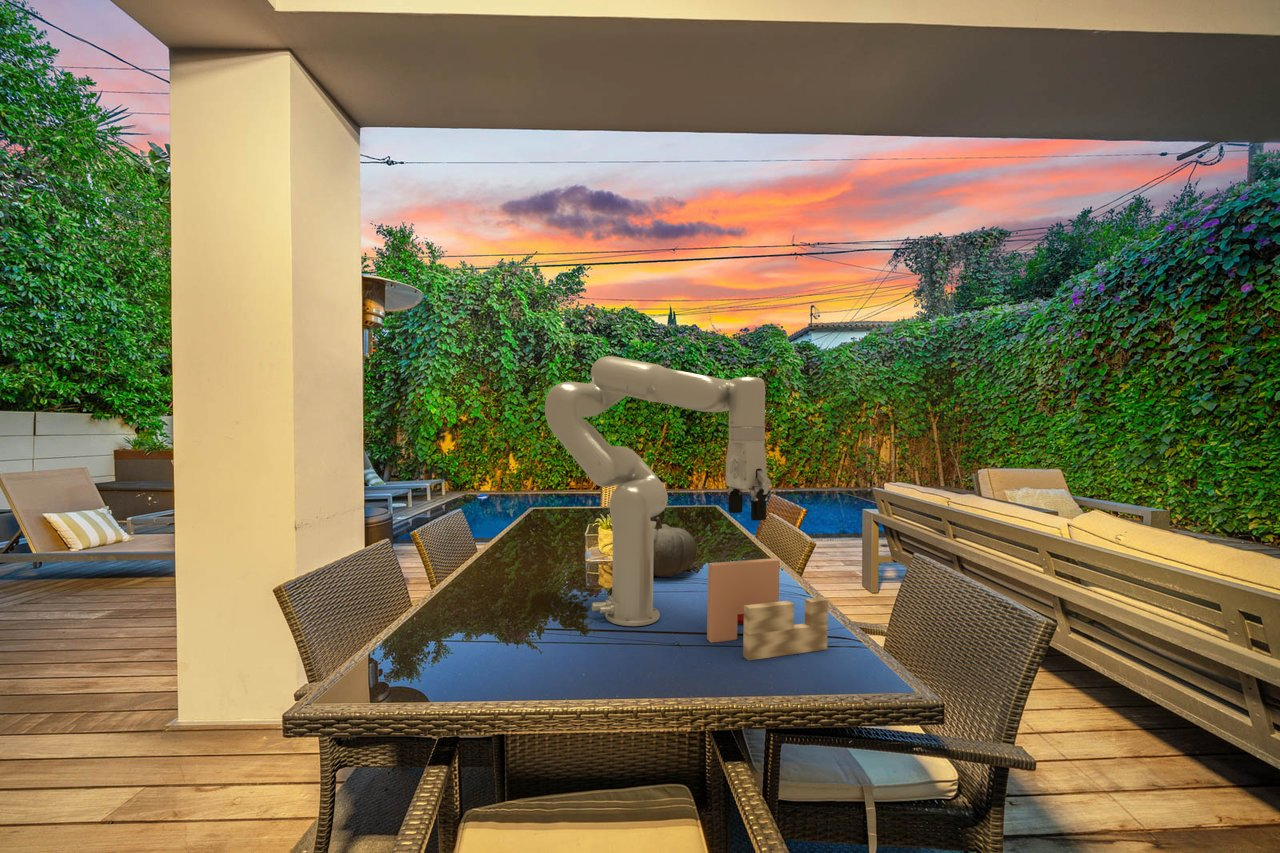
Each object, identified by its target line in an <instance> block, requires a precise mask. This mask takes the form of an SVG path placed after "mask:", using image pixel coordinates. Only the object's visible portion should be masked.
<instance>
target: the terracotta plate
mask: <svg viewBox="0 0 1280 853" xmlns="http://www.w3.org/2000/svg"><path fill="white" fill-rule="evenodd" d="M771 602H780V559H777V558H774V557H773V558H772V557H771V558H759V559H746V560H736V561H735V560H733V561H721V562H711V563H707V613H706V614H707V615H706V616H707V617H706V618H707V619H706V620H707V622H706V624H707V626H706V628H707V629H706V639H707V640H708V642H710V643H720V642H727V641H728V642H729V641H736V640H738V624H737V615H738V614H744V605H752V604H762V603H771Z"/></svg>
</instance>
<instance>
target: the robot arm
mask: <svg viewBox="0 0 1280 853" xmlns="http://www.w3.org/2000/svg"><path fill="white" fill-rule="evenodd" d="M591 366H592V367H591V369H590V377H591V381H590V382H588V383H585V382H578V381H562V382H560V383H557V384H554V386H552V388H551V389H550V390H549V391H548V393H547V396H546V398H545V401H544V402H545V403H544V416H545V419H546V422H547V426H548V427H549V429H550V431H551V432H552V433H553V435H554V436H555V437H556V439H557V440H558V441H559V443H561V444H562V446H563V447H564V448H565V449H566V450H567V451H568V453H569V454H570V455H571V457H572V458H573V459H574V460H575V461H576V463H577V464H578V466H579V467H580V468H581V469H582V470H583V472H585V474H586V475H587V476H588V477H589V479H590V480H591V481H592V482H593V483H594V484H595V485H597V486H598V487H601V488H608V487H610V488H611V487H615V486H616V488H615V489H614V491H612V494H611V496H610V498H609V499H610V500H609V513H610V520H611V529H612V574H611V575H612V579H611V580H612V585H611V589H612V591H611V592H612V593H611V595H609V596H608V599H606V600H604V601H601V602H600V601H596V602H595V601H594V602H591V611H592V612H598V611H599V613H600V614H604V616H605V619H606V621H608V622H609V623H612V624H614V625H619V626H625V627H640V626H641V627H642V626H648V625H652V624H654V623H656V622H657V621H658V620H659V619H660V611H659V610H658V608H656V607H654V575H653V559H654V540H653V531H652V526H651V521H652V520H651V518H653V517H656V516H658V515H660V514H661V513H662V512H664V510H665V509H666V507H667V505H668V501H669V500H668V499H669V498H668V497H669V494H668V491H667V489H666V486H665V485H664V483H663V482H662V481H661V480H660V478H659V477H658V476H657V475H656V474H655V472H653V471H652V469H651V468H650V467H649V466H648V465H647V464H646V463H645V461H644V460H643V459H642V458H641V456H640V455H638V453H637V452H635V450H633V449H632V448H629V447H626V446H623V445H622V446H621V445H617V446H613V445H611V444H610V443H609V442H608V441H607V440H605V438H604V437H603V436H602V435H601V434H600V432H599V431H598V429H596V428H595V426H593V425H592V424H591V423H589V422H588V421H587V420H585V419H584V418H592V417H594V416H595V417H596V416H598V415H600V414H602V413H603V412H605V411H606V410H608V409H610V408H611V407H613V406H614V405H615V404H617V403H618V402H620V401H622V400H623V399H625V397H631V398H635V399H638V400H643V401H648V402H652V403H661V404H666V405H670V406H674V407H680V408H682V409H687V410H692V411H695V412H696V411H697V412H703V413H722V412H728V446H727V451H726V461H725V475H724V477H725V484H726V487H727V491H726V493H727V495H728V506H727V508H728V513H729V514H742V513H743V509H744V508H743V494H741V493H742V492H743V491H749V493H750V494H751V497H752V500H751V501H750V519H751V521H754V522H755V521H766V519H767V501H768V498H769V497H768V495H769V494H770V488H771V486H772V485H771V484H772V481H771V479H770V478H769V476H767V457H766V456H767V455H766V454H767V453H766V447H765V442H766V440H765V439H766V428H765V427H766V385H765V384H766V383H765V380H764V379H763V378H761V377H757V376H742V377H741V376H740V377H734V378H732V379H724V378H719V377H714V376H711V375H706V374H705V375H704V374H699V373H694V372H693V373H692V372H686V371H683V370H676V369H671V368H668V367H664V366H663V365H660V364H658V363H652V362H645V361H639V360H635V359H629V358H624V357H618V356H613V355H607V356H602V357H600V358H598V359H597V360H596V361H594V363H593V365H591Z"/></svg>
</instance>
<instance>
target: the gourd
mask: <svg viewBox="0 0 1280 853" xmlns="http://www.w3.org/2000/svg"><path fill="white" fill-rule="evenodd" d="M651 526H652V531H653V540H654V559H653V576H655V577H662V578H663V577H665V578H666V577H667V578H668V577H670V576H673V577H674V576H676V575H678V574H680V573H683V572H685V571H686V570H689V568H690V567H691V566H692V565H693V564H694V562H695V561H696V558H697V556H698V555H697V554H698V553H697V552H698V546H697V543H696V541H695V539H694V537H693V535H692V534H691V533H690V532H689V531H687V530H686V529H684V528H680V527H671V526H670V525H668V524H666V523H662V522H661V519H660V517H659V516H657V517H656V519H655V521H653V520H651Z"/></svg>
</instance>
